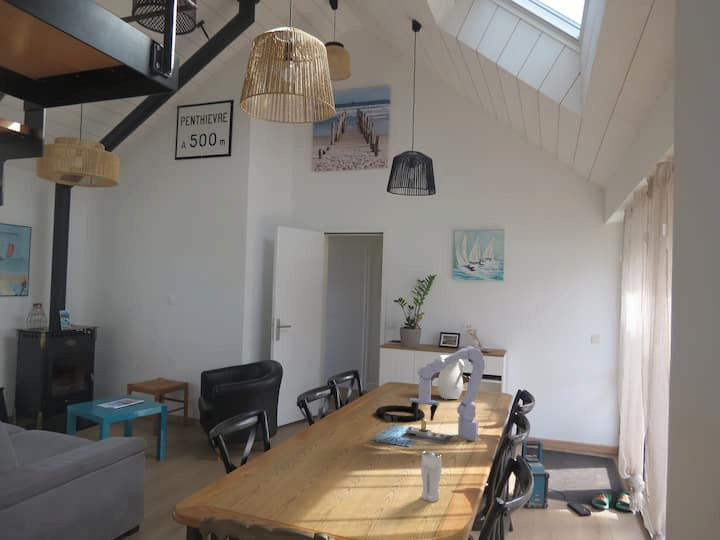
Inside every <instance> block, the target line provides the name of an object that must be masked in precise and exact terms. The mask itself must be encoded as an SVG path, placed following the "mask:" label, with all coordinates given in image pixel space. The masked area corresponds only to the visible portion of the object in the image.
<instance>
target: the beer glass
mask: <svg viewBox="0 0 720 540" xmlns="http://www.w3.org/2000/svg"><path fill="white" fill-rule="evenodd" d="M442 465H443V464H442V454H441V453H440V452H437V451H434V450H426V451H423V452H422V453H421V461H420V471H421V480H422V492H421V499H422V500H423V501H426V502H431V503H434V502H438V501H439V500H440V494H439V493H440V492H439V485H440V481H441V475H442V467H443V466H442Z"/></svg>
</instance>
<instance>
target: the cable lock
mask: <svg viewBox="0 0 720 540" xmlns="http://www.w3.org/2000/svg"><path fill="white" fill-rule="evenodd" d="M389 412H390V413H389ZM391 412H404V413H410V415H405V414H403V415H401V414H399V415H398V414H391ZM413 413H414V411H413V409H412V407H411V405H410V406H409V405H408V406H407V405H397V404H394V405H383V406H380V407H378V408H377V409H376V411H375V415H376V416H377V417H378V418H380V419H382V420H384V421H385V422H386V423H393V422H394V423H414V422H418V421H420V422H421V419H422V418H425V417H426V415H425V412H424V411H423V409H420V408H418V418H417V419H415V415H414V414H413Z"/></svg>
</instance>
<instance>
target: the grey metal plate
mask: <svg viewBox="0 0 720 540" xmlns="http://www.w3.org/2000/svg"><path fill="white" fill-rule="evenodd" d="M406 432H407V433H413V434H416V437H422V438H429V439H435V440H442V441H445V440H446V439H447V435H448V434H446V435H445V433H439V434H437V432H433V433H431V432H432V429H427V428H426V432H421V427H420V428H419V427H413V426H408V427H407V428H406V429H405V433H406Z"/></svg>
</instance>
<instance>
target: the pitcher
mask: <svg viewBox="0 0 720 540" xmlns="http://www.w3.org/2000/svg"><path fill="white" fill-rule="evenodd" d="M450 355H451V354H446V355H445V354H444V355H442V354H440V356H439V357H440V359H445V358H446V357H448V356H450ZM459 366H460V367H459ZM464 372H465V363H464V361H463V359H460V360H457V361H455V362H453V363H451V364H448V365H447V366H446V368H445V369H444V370H442V371H440V372H439V374H438V378H437V382H436V383H437V387H436V388H437V392H438V394H439V396H440V398H441V397H442V398H441V399H443V398H444V399H443V400H447V399H457V400H459V398H460V397H461V395H462V393H463V390H464V381H463V376H462V375H463V373H464Z"/></svg>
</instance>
